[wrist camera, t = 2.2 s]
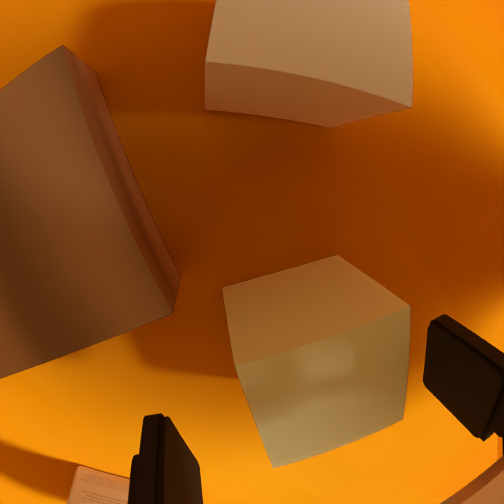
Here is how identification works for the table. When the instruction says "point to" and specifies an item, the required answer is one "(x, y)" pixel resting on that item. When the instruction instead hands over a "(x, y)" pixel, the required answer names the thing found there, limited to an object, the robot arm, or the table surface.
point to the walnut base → (71, 221)
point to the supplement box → (98, 488)
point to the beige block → (318, 356)
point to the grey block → (310, 59)
